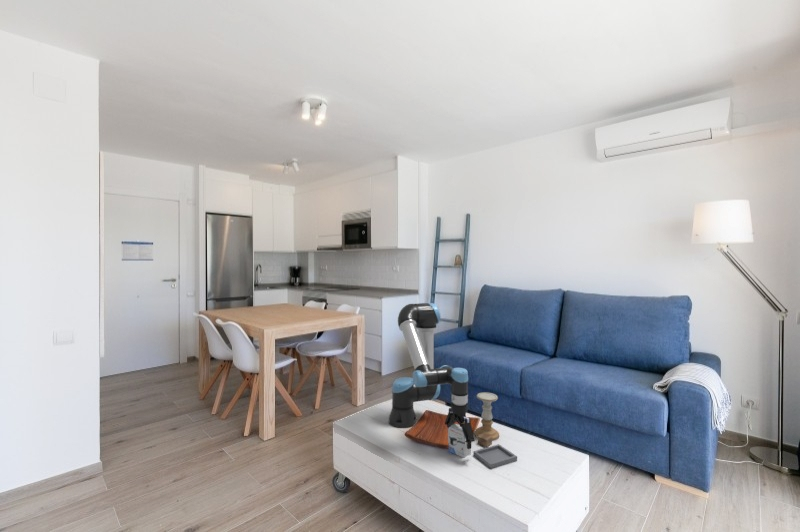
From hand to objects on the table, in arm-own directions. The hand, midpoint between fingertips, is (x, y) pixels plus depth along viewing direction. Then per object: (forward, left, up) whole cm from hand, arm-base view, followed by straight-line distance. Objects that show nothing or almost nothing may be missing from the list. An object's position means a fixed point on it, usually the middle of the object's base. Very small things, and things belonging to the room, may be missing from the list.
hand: (458, 447), depth 172 cm
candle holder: (-8, +23, -2) cm, 24 cm away
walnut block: (-1, +16, -2) cm, 16 cm away
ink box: (0, 0, -2) cm, 2 cm away
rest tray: (+11, +12, -2) cm, 16 cm away
